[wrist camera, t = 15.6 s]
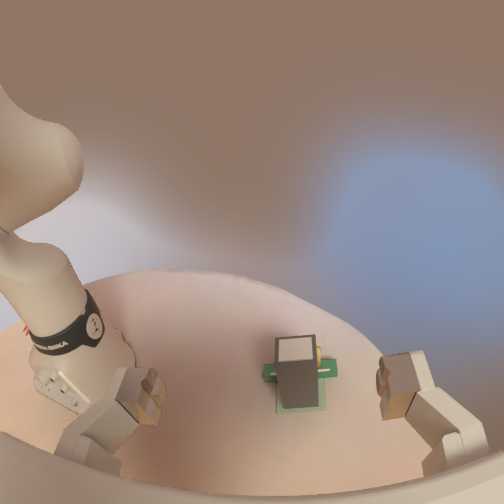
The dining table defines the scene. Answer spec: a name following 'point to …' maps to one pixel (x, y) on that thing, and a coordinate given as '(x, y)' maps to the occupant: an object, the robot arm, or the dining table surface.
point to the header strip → (324, 368)
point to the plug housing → (297, 371)
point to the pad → (309, 409)
